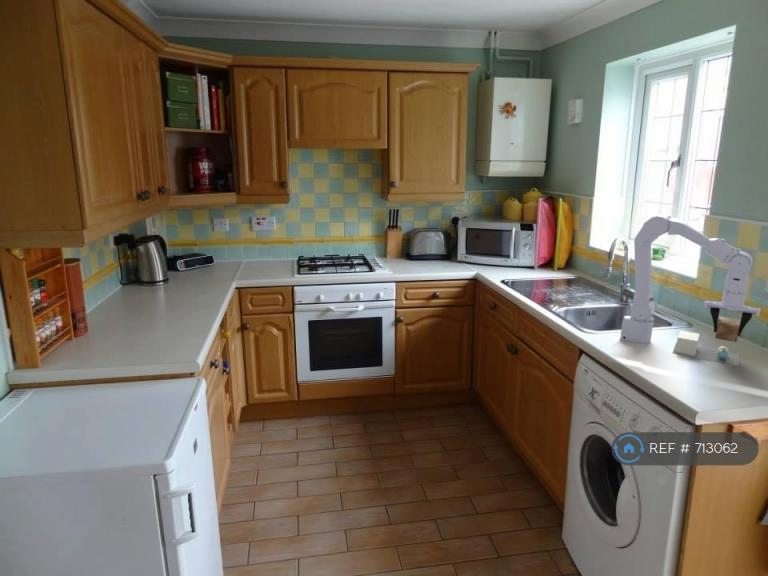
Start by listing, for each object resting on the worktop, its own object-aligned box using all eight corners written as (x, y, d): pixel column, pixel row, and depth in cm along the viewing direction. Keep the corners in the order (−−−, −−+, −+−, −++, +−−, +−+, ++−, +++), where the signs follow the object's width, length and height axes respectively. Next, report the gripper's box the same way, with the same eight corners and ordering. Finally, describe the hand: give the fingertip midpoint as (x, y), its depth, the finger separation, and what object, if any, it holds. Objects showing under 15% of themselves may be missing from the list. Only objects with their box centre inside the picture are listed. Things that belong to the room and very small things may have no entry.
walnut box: (715, 338, 165) (718, 322, 164) (716, 331, 172) (719, 316, 171) (736, 342, 162) (739, 326, 161) (736, 334, 169) (739, 319, 168)
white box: (675, 352, 172) (677, 337, 171) (677, 344, 179) (680, 330, 178) (695, 356, 169) (697, 341, 168) (697, 348, 176) (699, 333, 175)
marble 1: (716, 355, 170) (718, 346, 169) (716, 352, 172) (718, 344, 172) (727, 357, 168) (729, 348, 168) (727, 355, 171) (729, 346, 170)
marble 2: (716, 359, 167) (717, 350, 166) (716, 356, 169) (718, 347, 169) (727, 361, 165) (729, 352, 165) (727, 358, 168) (729, 349, 167)
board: (671, 356, 171) (672, 353, 171) (675, 346, 181) (676, 342, 181) (738, 369, 162) (738, 366, 162) (738, 358, 172) (739, 354, 171)
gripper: (706, 290, 164) (699, 332, 167) (763, 298, 156) (754, 341, 160) (708, 285, 170) (700, 326, 173) (763, 293, 162) (754, 335, 166)
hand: (726, 333), depth 167 cm, fingers closed on walnut box, 6 cm apart
